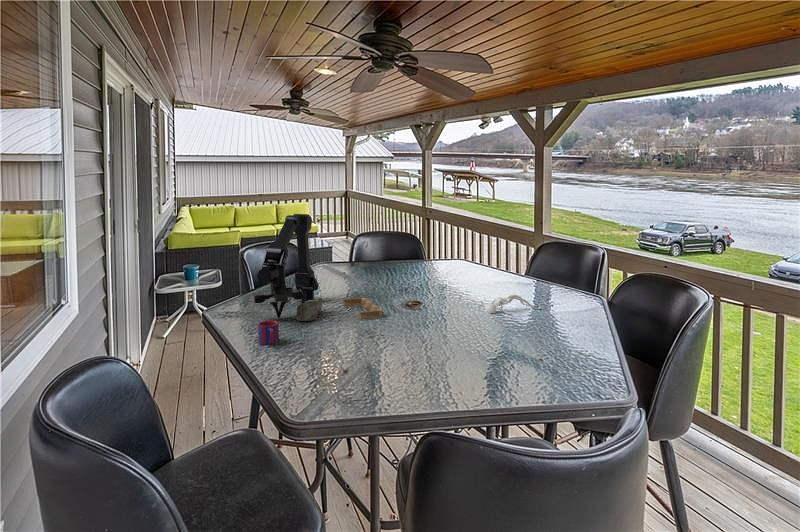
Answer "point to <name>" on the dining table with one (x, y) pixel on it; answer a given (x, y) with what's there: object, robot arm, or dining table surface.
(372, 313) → the wooden u-shaped handle
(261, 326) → the mug
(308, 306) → the rock
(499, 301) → the figurine
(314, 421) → the dining table surface
